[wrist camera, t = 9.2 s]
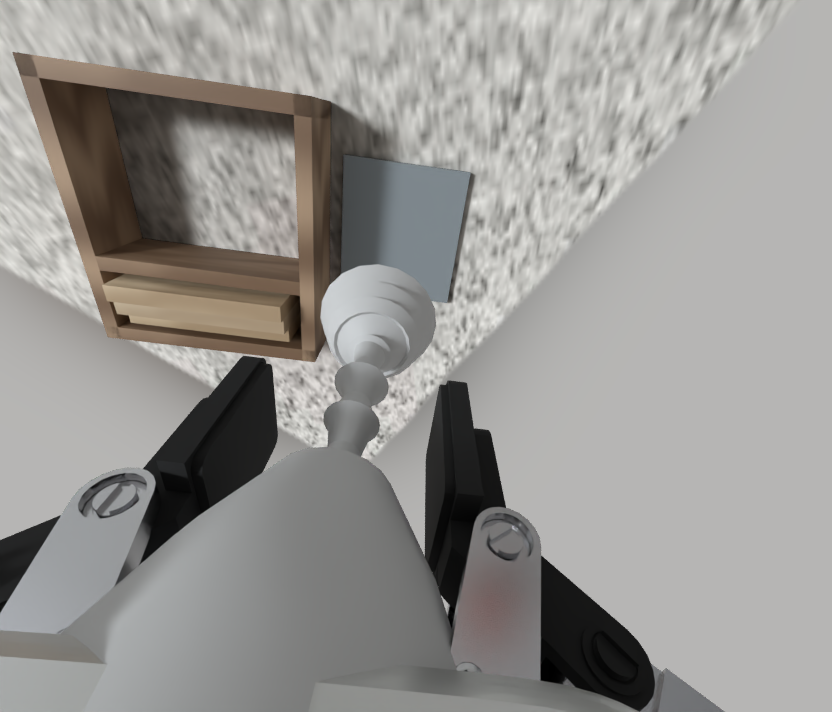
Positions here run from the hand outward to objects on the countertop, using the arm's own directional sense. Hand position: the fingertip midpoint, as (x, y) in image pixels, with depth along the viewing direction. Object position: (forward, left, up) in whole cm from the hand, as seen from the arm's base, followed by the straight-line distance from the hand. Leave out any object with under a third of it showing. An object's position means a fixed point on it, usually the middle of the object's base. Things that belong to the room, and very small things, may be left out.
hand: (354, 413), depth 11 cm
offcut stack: (+6, -14, -22) cm, 26 cm away
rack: (+1, -14, -22) cm, 25 cm away
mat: (0, 0, -22) cm, 22 cm away
